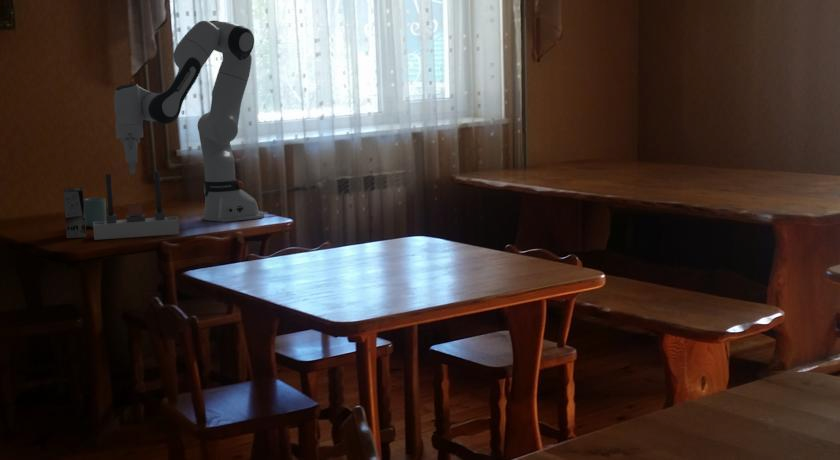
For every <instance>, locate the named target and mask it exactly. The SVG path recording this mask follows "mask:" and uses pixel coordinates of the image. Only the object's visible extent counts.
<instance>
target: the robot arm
mask: <svg viewBox="0 0 840 460" xmlns="http://www.w3.org/2000/svg"><path fill="white" fill-rule="evenodd" d="M254 43H255V36H254V33H253V31H252V30H251V29H249V28H248V27H246V26H244V25H241V24H237V23H234V22H229V21H228V22H227V21H219V20H209V21H208V20H200V21H198V22H197V23H195V25H193V26H192V27H191V28H190V29H189V30H188V31H187V33H186V34H185V35H184V36H183V37H182V38H181V40H180V41H179V42H178V44H177V45H176V47H175V48H174V51H173V54H172V55H173V56H172V57H173V61H174V64H175V66H176V67H177V68H178V71H177V73H176V75H175V77H174V79H173V80H172V82H171V83H170V84H169V87H167V88H166V90H165V91H162V92H158V93H157V92H152V91H151V90H150V91H149V90H147V89H144V88H143V87H141V86H140V85H138V83H125V84H121V85H119V86H118V87H116V89H115V90H114V95H113V103H114V104H113V107H114V108H113V109H114V114H115V117H116V118H115V119H116V120H115V135H116V139H119V140H120V143H121V144H123V148H124V149H123V150H124V153H125V162H126V163H127V164H128V168H129V174H131V175H132V174H133V175H134V174H135V173H136V163H137V162H138V143H141V138H144V127H143V125H144V124H143V123H144V120H145V121H149V122H156V123H161V124H165V125H168V124H171V123H173V122H175V121H176V120H177V119H178V117H179V116H180V113H181V110H182V105H183V104H184V100H185V99H186V97H187V95H188V94H189V92H190V90H191V89H192V87H193V85H195V84H194V83H195V82H196V80H197V79H198V76H200V75H199V74H200V73H201V70H202V68H203V66H204V65H205V64H206V62H207V61H208V60H209V58H210V57H211V55H212V54H213V52H214V51H215V52H219V53H221V54H222V61H221V64H220V66H219V69H218V72H217V75H216V77H215V81H214V85H213V88H212V92H211V104H210V109H209V110H210V111H208V112H206V113H204V114H203V115H201V117H200V118H199V119H198V120H197V131H198V135H199V142H200V147H201V152H202V157H203V158H202V159H203V169H204V170H203V171H204V180H203V193H204V197H205V200H204V211H203V216H202V219H203V220H204V221H205V220H206V221H211V222H212V221H213V222H221V223H222V222H223V223H225V222H226V223H228V222H234V221H235V222H237V221H245V220H256V219H263V218H264V217H265V213H264V211H262V210H259V207H258V203H257V201H256V199H255V198H254V196H252V195H250V194H249V193H247V192H246V191H245V190H243V189H242V188H243V187H244V183H243V181H240V180H238V179H236V167H235V157H234V154H233V149H232V146H231V145H232V144H231V142H232V141H234V140H235V139H236V138H237V136H238V132H239V128H238V127H239V126H238V125H239V120H240V114H241V106H242V102H243V98H244V93H245V91H246V88H247V84H248V81H249V78H250V73H251V68H252V51H253V49H254V46H255V44H254Z"/></svg>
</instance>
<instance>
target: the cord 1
mask: <svg viewBox="0 0 840 460" xmlns="http://www.w3.org/2000/svg"><path fill="white" fill-rule="evenodd" d="M105 185H106V197H107V210H108V214H106V221H107V224H108V223H116V220H117V214H116V213H114V203H113V200H114V199H113V190H112V189H113V188H112V175H111V174H110V173H107V174H105Z"/></svg>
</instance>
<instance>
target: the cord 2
mask: <svg viewBox="0 0 840 460" xmlns="http://www.w3.org/2000/svg"><path fill="white" fill-rule="evenodd" d="M153 172H154V185H155V198H156V200H155V201H156V211H154V218H155V219H156V220H165V217H166V216H165V210H163V209H162V193H161V191H162V190H161V177H160V176H161V175H160V171H153Z"/></svg>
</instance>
